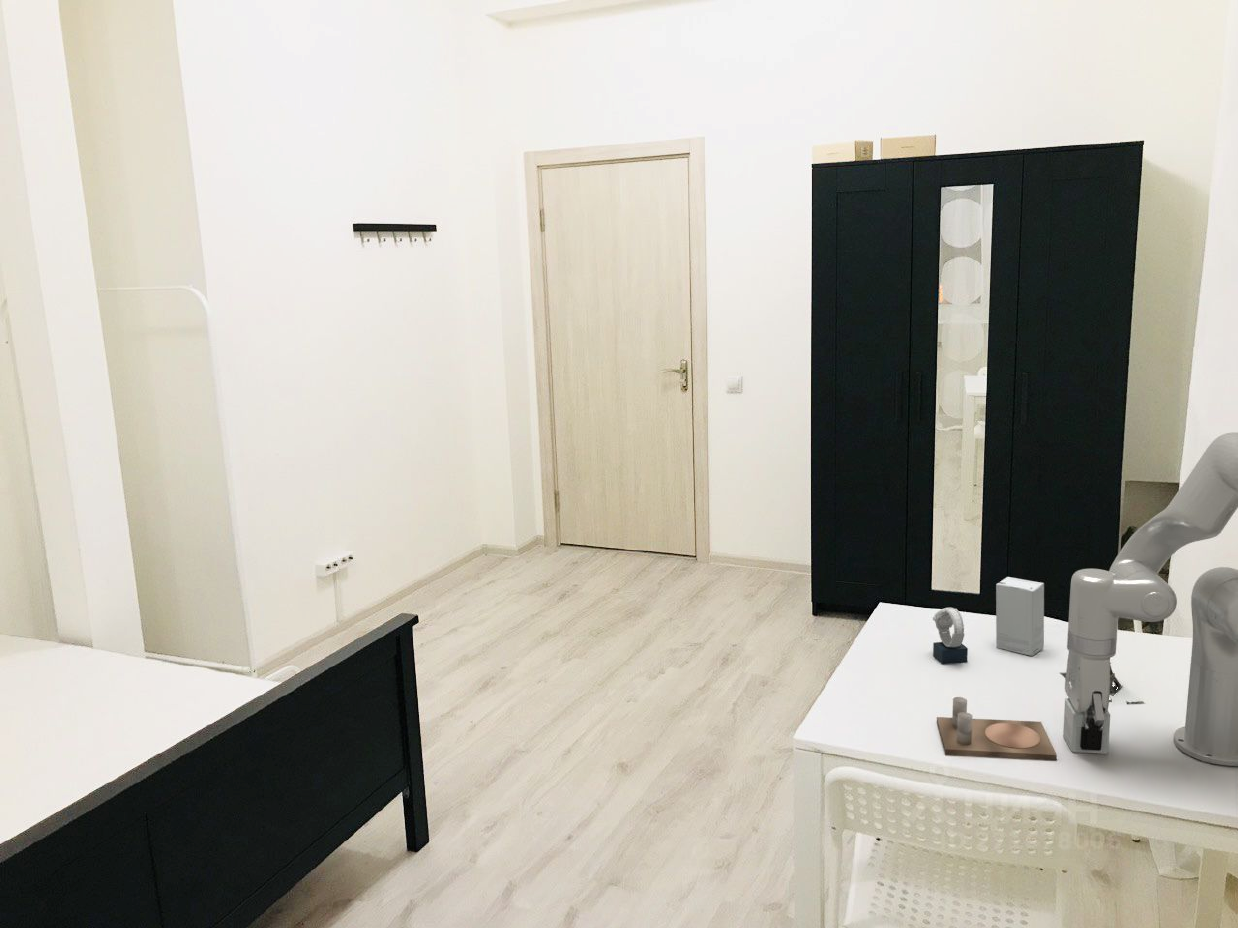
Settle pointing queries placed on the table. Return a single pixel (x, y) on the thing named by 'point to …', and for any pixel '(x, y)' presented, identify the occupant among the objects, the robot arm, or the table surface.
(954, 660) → the watch
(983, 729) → the board
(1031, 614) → the skincare box
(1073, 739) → the skincare box
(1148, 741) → the table surface
